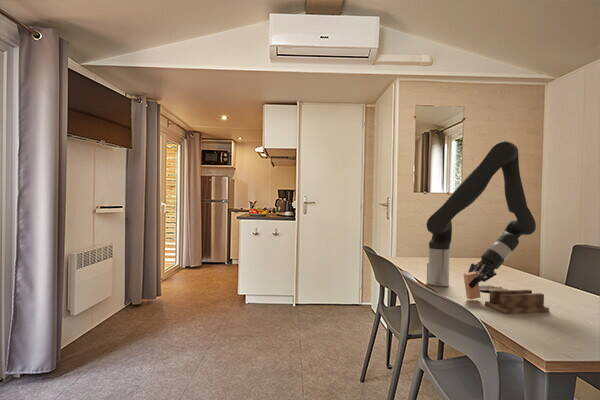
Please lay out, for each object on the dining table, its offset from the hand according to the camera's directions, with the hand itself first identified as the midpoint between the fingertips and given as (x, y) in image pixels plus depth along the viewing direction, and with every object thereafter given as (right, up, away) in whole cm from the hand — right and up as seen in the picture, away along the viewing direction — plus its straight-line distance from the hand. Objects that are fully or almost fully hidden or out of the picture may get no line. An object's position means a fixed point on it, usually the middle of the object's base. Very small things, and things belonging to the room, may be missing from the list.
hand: (468, 285), depth 149 cm
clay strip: (+2, -5, +1) cm, 5 cm away
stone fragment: (+22, -7, +13) cm, 26 cm away
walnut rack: (+13, -6, -10) cm, 18 cm away
